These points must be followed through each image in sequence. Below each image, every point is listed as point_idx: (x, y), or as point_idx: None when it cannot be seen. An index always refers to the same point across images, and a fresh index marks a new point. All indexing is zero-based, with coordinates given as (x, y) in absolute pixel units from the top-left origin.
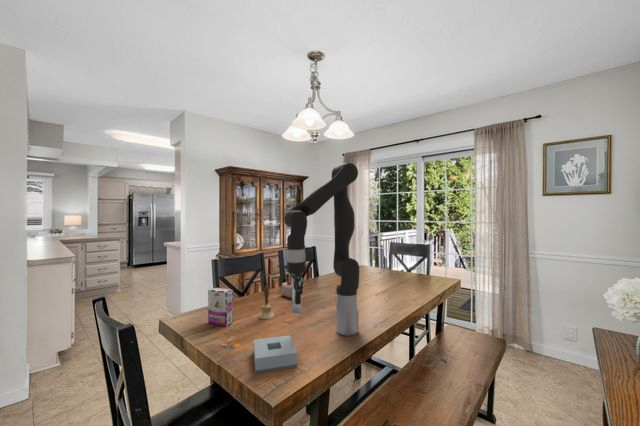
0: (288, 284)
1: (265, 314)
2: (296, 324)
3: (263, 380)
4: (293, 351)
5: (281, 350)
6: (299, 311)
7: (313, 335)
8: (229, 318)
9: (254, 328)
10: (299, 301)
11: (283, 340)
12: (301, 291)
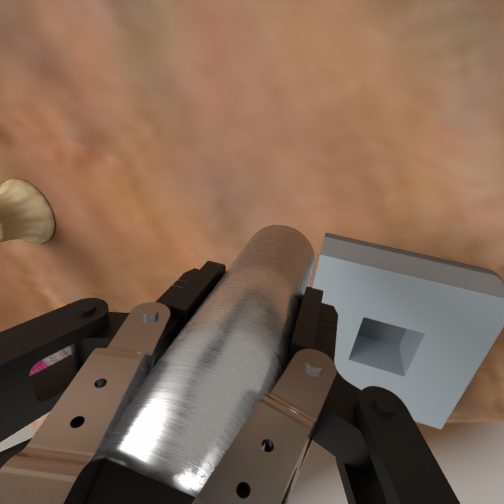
0: None
1: (32, 227)
2: (119, 118)
3: (487, 385)
4: (493, 309)
5: (444, 342)
6: (313, 257)
7: (258, 79)
8: (70, 352)
9: (123, 284)
10: (335, 324)
11: (356, 299)
12: (424, 460)
